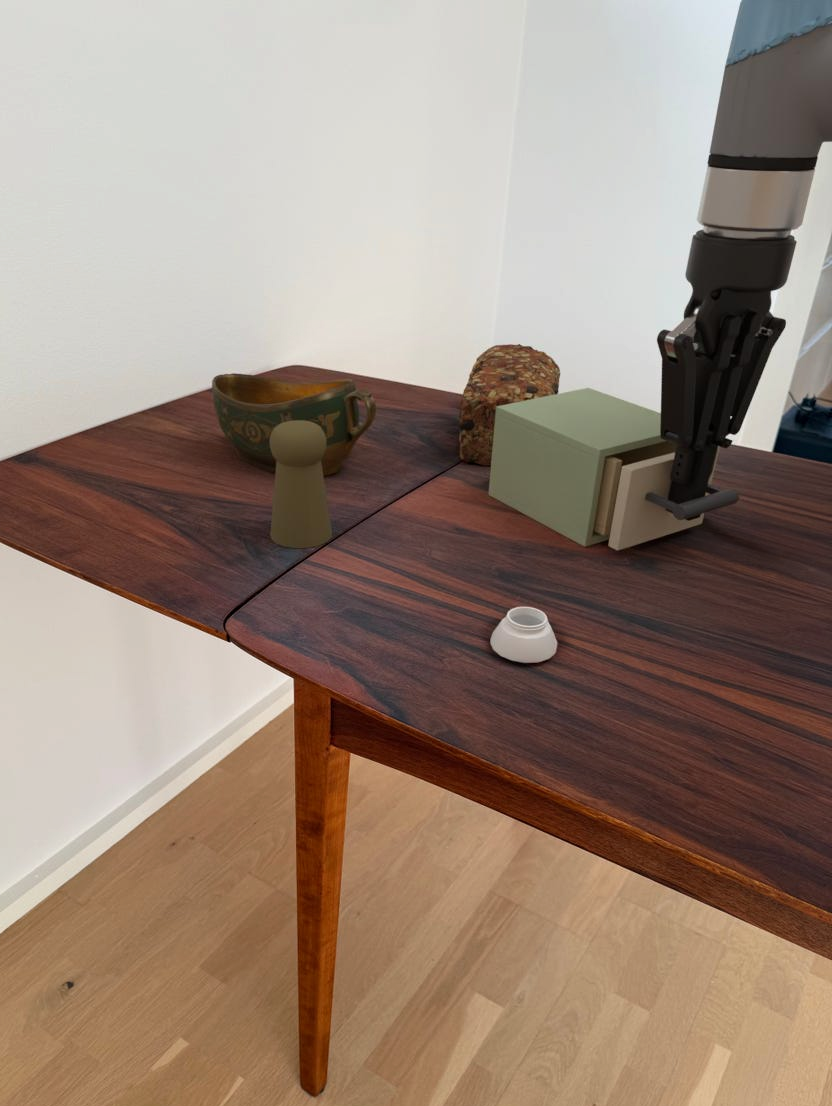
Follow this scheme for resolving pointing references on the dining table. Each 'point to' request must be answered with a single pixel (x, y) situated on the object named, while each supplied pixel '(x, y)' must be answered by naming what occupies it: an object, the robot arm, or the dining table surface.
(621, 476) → the drawer
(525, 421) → the cabinet
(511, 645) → the white jar
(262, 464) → the gravy boat
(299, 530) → the olive pawn
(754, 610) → the dining table surface
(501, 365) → the bread
